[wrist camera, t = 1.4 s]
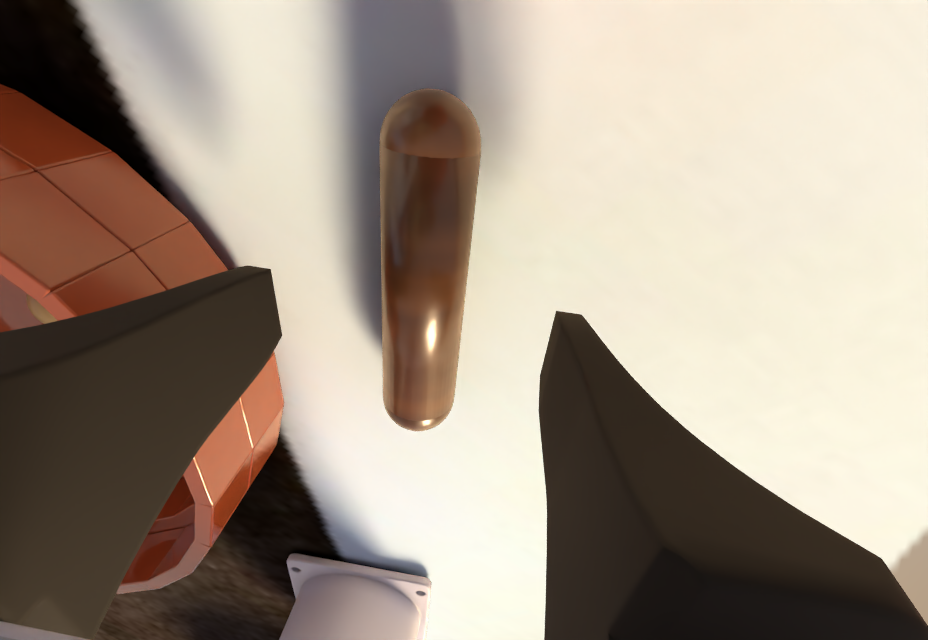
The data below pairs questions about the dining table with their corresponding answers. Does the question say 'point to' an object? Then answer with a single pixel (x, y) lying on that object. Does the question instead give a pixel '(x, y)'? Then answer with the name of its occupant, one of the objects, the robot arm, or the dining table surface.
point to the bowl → (117, 282)
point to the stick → (425, 250)
